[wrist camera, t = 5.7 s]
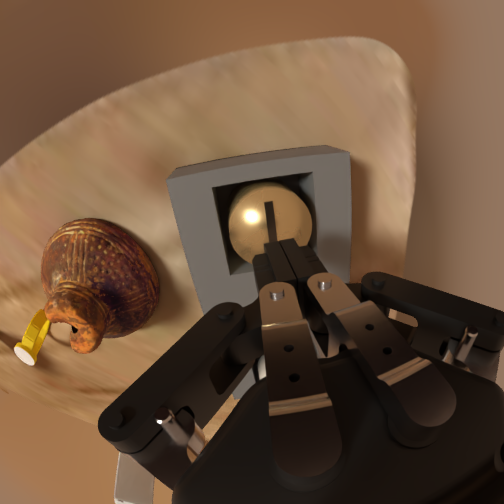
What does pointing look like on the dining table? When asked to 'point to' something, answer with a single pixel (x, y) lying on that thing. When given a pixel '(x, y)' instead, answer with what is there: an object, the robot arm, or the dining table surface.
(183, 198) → the knob mount
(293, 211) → the brass knob
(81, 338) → the broken clay vessel
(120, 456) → the skincare box
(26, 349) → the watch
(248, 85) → the dining table surface
